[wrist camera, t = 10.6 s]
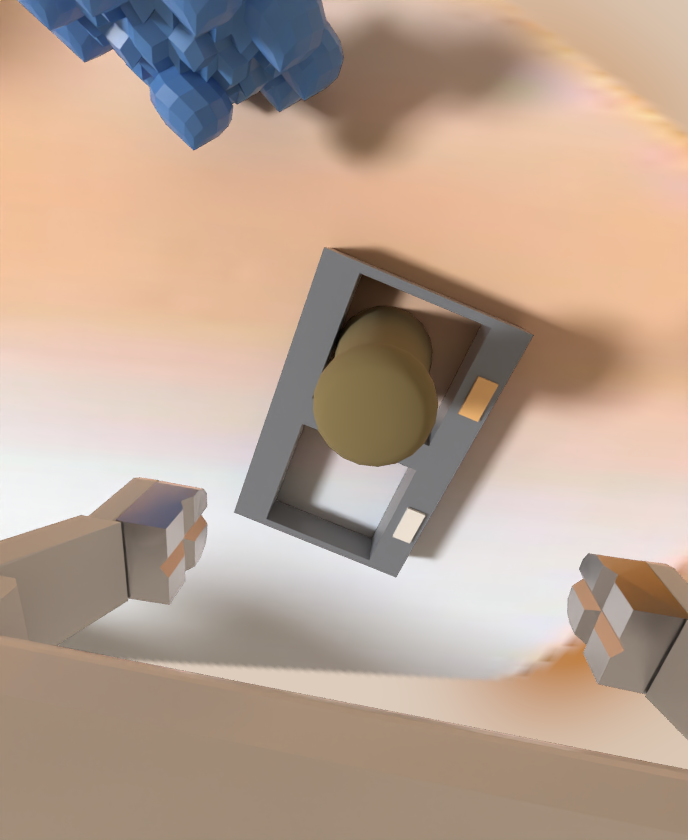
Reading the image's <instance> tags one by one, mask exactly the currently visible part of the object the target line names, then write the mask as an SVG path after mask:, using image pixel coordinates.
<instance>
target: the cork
mask: <svg viewBox="0 0 688 840" xmlns="http://www.w3.org/2000/svg"><path fill="white" fill-rule="evenodd" d="M432 353H433V352H432V347H431V342H430V337H429V335H428V333H427V332H426V330H425V328H424V326H423V325H422V323H421V322H419V321H418V320H417V319H416V318H415V317H414V316H413V315H412V314H410V313H408V312H406V311H404V310H401V309H399V308H396V307H387V306H377V307H373V308H369V309H365V310H363V311H361V312H360V313H358V314H357V315H355V316H354V317H352V318H351V319H350V320H349V321H348V322H347V324H346V325H345V326H344V327H343V328H342V330H341V332H340V334H339V337H338V340H337V342H336V347H335V358H334V359H333V360H332V361H331V362H330V364H329V365H328V366H327V367H326V368H325V369H324V371H323V372H322V373H321V375H320V377H319V380H318V382H317V385H316V388H315V390H314V398H313V414H314V418H315V421H316V424H317V428H318V431H319V433H320V434H321V436H322V437H323V439H324V440H325V442H326V443H327V445H328V446H329V447H330V448H331V449H333V450H334V451H335V452H336V453H338V454H339V455H340V456H341V457H343V458H345V459H347V460H350V461H352V462H354V463H357V464H359V465H367V466H376V467H379V466H384V465H390V464H396V463H398V462H400V461H402V460H404V459H406V458H408V457H410V456H412V455H413V454H414V453H415V452H416V451H417V450H418V449H419V448H420V447H421V446H422V445H423V444H424V443H425V442H426V440H427V438H428V436H429V434H430V432H431V431H432V429H433V427H434V425H435V423H436V416H437V410H438V400H437V395H436V390H435V385H434V382H433V380H432V378H431V376H430V375H429V371H430V367H431V360H432Z"/></svg>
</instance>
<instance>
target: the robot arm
mask: <svg viewBox="0 0 688 840" xmlns="http://www.w3.org/2000/svg"><path fill="white" fill-rule="evenodd" d="M206 507H207V493H206V492H205V490H204V489H202V488H196V487H191V486H186V485H180V484H175V483H170V482H164V481H159V480H154V479H147V478H141V477H139V478H133V479H132V480H131V481H130V482H129V483H127V484H126V485H125V486H124V487H123V488H121V489H120V490H119V491H118V492H117V493H115V494H114V495H113V496H112V497H111V498H109V499H108V500H107V501H106V502H105V503H103V504H102V505H101V506H100V507H99V508H98V509H96V510H95V511H94V512H93V513H92V514H90V515H89V516H83V515H80V516H77V517H73V518H70V519H67V520H64V521H61V522H58V523H55V524H51V525H48V526H45V527H42V528H39V529H36V530H33V531H29V532H26V533H23V534H20V535H17V536H14V537H11V538H7V539H4V540H1V541H0V840H688V769H682V768H678V767H672V766H667V765H662V764H657V763H652V762H647V761H642V760H637V759H631V758H626V757H621V756H616V755H611V754H606V753H601V752H596V751H591V750H586V749H581V748H576V747H571V746H566V745H561V744H556V743H551V742H546V741H540V740H535V739H530V738H525V737H520V736H515V735H510V734H504V733H500V732H495V731H490V730H485V729H480V728H475V727H470V726H465V725H459V724H454V723H449V722H444V721H439V720H433V719H429V718H423V717H418V716H413V715H408V714H403V713H398V712H393V711H388V710H382V709H377V708H372V707H367V706H362V705H357V704H351V703H346V702H341V701H336V700H331V699H326V698H321V697H315V696H310V695H305V694H300V693H295V692H290V691H284V690H279V689H275V688H269V687H264V686H259V685H254V684H249V683H243V682H238V681H234V680H228V679H223V678H218V677H213V676H208V675H203V674H198V673H193V672H187V671H182V670H177V669H172V668H167V667H162V666H157V665H152V664H147V663H141V662H136V661H131V660H126V659H121V658H116V657H111V656H106V655H101V654H95V653H90V652H85V651H80V650H75V649H70V648H65V647H60V646H56V645H58V644H60V643H61V642H63V641H64V640H66V639H68V638H69V637H71V636H72V635H74V634H75V633H77V632H79V631H80V630H82V629H83V628H85V627H87V626H88V625H90V624H91V623H93V622H95V621H96V620H98V619H99V618H101V617H103V616H104V615H106V614H107V613H109V612H111V611H112V610H114V609H115V608H117V607H119V606H120V605H122V604H123V603H125V602H127V601H128V598H130V599H136V600H143V601H149V602H155V603H162V604H168V605H170V603H171V602H172V600H173V599H174V597H175V596H176V594H177V593H178V591H179V590H180V588H181V587H182V585H183V584H184V582H185V571H186V570H188V569H190V568H192V567H194V566H195V565H196V564H197V562H198V560H199V559H200V557H201V555H202V552H203V549H204V547H205V544H206V538H207V522H206V521H205V520H204V518H203V517H202V515H201V514H202V513H203V511H204V510H205V509H206ZM579 570H580V572H581V575H582V577H583V579H582V580H581V581H579V582H577V583H576V584H574V585H573V586H572V588H571V591H570V594H569V597H568V606H567V613H568V618H569V623H570V625H571V627H572V630H573V632H574V634H575V635H576V636H577V637H579V638H580V639H581V640H582V641H583V642H584V643H585V644H586V648H585V650H584V652H583V653H584V656H585V658H586V660H587V662H588V664H589V666H590V668H591V671H592V673H593V675H594V677H595V679H596V681H597V683H598V684H600V685H605V686H609V687H614V688H618V689H624V690H628V691H633V692H637V693H642V694H646V696H645V697H646V698H647V699H648V700H649V701H650V702H651V703H652V704H653V705H654V706H655V707H656V708H657V709H658V710H659V711H660V712H661V713H662V714H663V715H664V716H665V717H666V718H667V719H668V720H669V721H670V722H671V723H672V724H673V725H674V726H675V727H676V728H677V729H678V730H679V731H680V732H681V733H682V734H683V736H684V737H685V738H687V740H688V583H687V582H686V581H685V580H684V579H683V577H682V576H681V575H680V574H679V573H678V572H677V571H676V570H675V568H673V567H671V566H669V565H667V564H663V563H655V562H647V561H637V560H630V559H624V558H617V557H610V556H603V555H596V554H590V553H588V554H587V556H586V557H585V558H584V559H583V561H582V563H581V565H580V568H579Z"/></svg>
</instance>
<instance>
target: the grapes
mask: <svg viewBox="0 0 688 840" xmlns="http://www.w3.org/2000/svg"><path fill="white" fill-rule="evenodd" d="M17 1H19V2H20V3H21V4H22V5H23V6H24V7H25V8H26V9H27V10H28V11H29V12H30V13H32V14H33V15H34V16H35V17H36V18H37V19H38V20H39V21H40V22H41V23H42V24H43V25H45V26H46V27H47V28H48V29H49V30H50V31H51V32H52V33H53V34H54V35H56V36H57V37H58V38H59V39H60V40H61V41H62V42H63V43H64V44H65V45H66V46H67V47H69V48H70V49H71V50H72V51H73V52H74V53H75V54H76V55H77V56H78V57H79V58H80V59H82V60H83V61H84V62H87V61H89V60H92V59H94V58H97V57H99V56H101V55H103V54H105V53H106V52H108V51H110V50H112V49H114V50H115V51H116V53H117V54H118V55H119V56H120V57H121V58H122V59H123V60H124V61H125V63H126V65H127V66H128V67H129V68H130V69H131V70H132V71H133V72H134V73H135V74H136V75H137V76H138V77H139V78H140V79H141V80H142V81H144V82H145V83H146V84H147V85H148V86H149V87H150V97H151V102H152V103H153V105H154V107H155V109H156V110H157V112H158V113H159V115H160V116H161V118H162V119H163V121H164V122H165V123H166V125H167V126H168V127H169V128H170V129H171V130H172V131H174V132H175V133H176V134H177V135H178V136H179V137H180V138H181V139H182V140H183V141H184V142H185V143H186V144H187V145H188V146H189V147H191V148H192V149H193V150H195V149H197V148H199V147H201V146H203V145H204V144H206V143H208V142H210V141H211V140H213V139H215V138H216V137H218V136H219V135H220V134H221V133H222V132H223V131H224V130H225V129H226V128H227V127H228V126H229V124H230V122H231V120H232V112H233V105H232V104H233V103H236V104H239V103H241V102H242V101H244V100H246V99H248V98H249V97H251V96H252V95H254V94H256V93H258V92H259V91H260V92H261V93H262V94H263V95H264V97H265V98H266V99H267V100H268V101H269V102H270V103H271V104H272V105H273V106H274V107H275V108H276V109H277V110H278V111H279V112H280V111H282V110H284V109H286V108H287V107H289V106H291V105H293V104H294V103H296V102H298V101H299V100H300V99H301V98H302V99H303V100H304V101H305V100H307V99H308V98H310V97H312V96H314V95H315V94H317V93H319V92H320V91H322V90H324V89H325V88H327V87H328V86H329V85H330V84H331V83H332V82H333V81H334V80H335V79H336V78H337V77H338V75H339V72H340V69H341V66H342V63H343V59H344V56H343V51H342V47H341V43H340V40H339V38H338V37H337V35H336V33H335V32H334V30H333V29H332V27H331V26H330V24H329V23H328V22H327V20H326V17H325V13H324V9H323V5H322V0H17Z"/></svg>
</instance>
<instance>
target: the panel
mask: <svg viewBox="0 0 688 840" xmlns="http://www.w3.org/2000/svg"><path fill="white" fill-rule="evenodd" d="M362 274H363V275H366V276H368V277H370V278H373V279H375V280H377V281H380V282H382V283H385V284H387V285H389V286H392V287H394V288H397V289H399V290H401V291H404V292H406V293H408V294H411V295H413V296H416V297H418V298H420V299H423V300H425V301H428V302H430V303H432V304H435V305H437V306H439V307H442V308H444V309H447V310H449V311H451V312H454V313H456V314H459V315H461V316H463V317H466V318H468V319H470V320H473V321H475V322H478V323H480V324H482V325H481V327H480V328H479V330H478V332H477V334H476V336H475V338H474V340H473V342H472V344H471V346H470V348H469V350H468V352H467V354H466V356H465V358H464V360H463V362H462V364H461V366H460V367H459V369H458V371H457V373H456V375H455V377H454V379H453V381H452V383H451V385H450V387H449V389H448V391H447V393H446V395H445V397H444V399H443V401H442V403H441V405H440V406H439V408H438V410H437V416H436V423H435V425H434V427H433V429H432V431H431V432H430V434H429V436H428V438H427V440H426V442H425V443H424V444H423V445H422V446H421V447H420V448H419V449H418V450H417V451H416V452H415V453H414V454H413V455H412V456H410V457H408V458H406V459H404V460H402V461H400V462H398V463H400V464H402V465H404V466H407V467H408V469H407V471H406V473H405V475H404V477H403V479H402V481H401V482H400V484H399V486H398V488H397V490H396V492H395V494H394V496H393V498H392V500H391V502H390V504H389V506H388V508H387V510H386V512H385V514H384V516H383V518H382V519H381V521H380V523H379V525H378V527H377V529H376V531H375V533H374V535H373V537H372V539H371V538H369V537H366V536H364V535H361V534H359V533H356V532H354V531H351V530H349V529H346V528H344V527H341V526H339V525H336V524H334V523H331V522H329V521H327V520H324V519H322V518H319V517H317V516H314V515H312V514H309V513H307V512H304V511H302V510H299V509H297V508H294V507H292V506H289V505H287V504H284V503H282V502H279V501H277V500H276V498H277V495H278V493H279V490H280V487H281V485H282V482H283V480H284V477H285V474H286V472H287V469H288V466H289V464H290V461H291V459H292V456H293V453H294V451H295V448H296V446H297V443H298V440H299V438H300V435H301V432H302V430H303V427H304V425H306V426H309V427H311V428H314V429H316V430H318V428H317V424H316V421H315V418H314V414H313V398H314V390H315V388H316V385H317V382H318V380H319V377H320V375H321V373H322V372H323V371H324V369H325V368H326V367H327V364H328V362H329V359H330V357H331V354H332V351H333V349H334V346H335V344H336V341H337V338H338V336H339V333H340V330H341V328H342V325H343V323H344V320H345V317H346V315H347V312H348V310H349V307H350V304H351V302H352V299H353V296H354V294H355V291H356V289H357V286H358V283H359V281H360V278H361V276H362ZM533 336H534V335H532V334H531V333H529V332H528V331H526V330H524V329H523V328H521V327H518V326H516V325H514V324H511V323H509V322H506V321H504V320H502V319H499V318H497V317H495V316H492V315H490V314H487V313H485V312H483V311H480V310H478V309H476V308H473V307H471V306H468V305H466V304H464V303H461V302H459V301H456V300H454V299H452V298H449V297H447V296H445V295H442V294H440V293H437V292H435V291H433V290H430V289H428V288H425V287H423V286H421V285H418V284H416V283H414V282H411V281H409V280H406V279H404V278H402V277H399V276H397V275H395V274H392V273H390V272H387V271H385V270H383V269H380V268H378V267H375V266H373V265H371V264H368V263H366V262H364V261H361V260H359V259H356V258H354V257H352V256H349V255H347V254H345V253H342V252H340V251H337V250H335V249H333V248H326V247H324V249H323V252H322V255H321V258H320V261H319V264H318V267H317V270H316V273H315V276H314V279H313V282H312V285H311V288H310V291H309V294H308V297H307V299H306V302H305V305H304V308H303V311H302V314H301V317H300V320H299V323H298V326H297V329H296V332H295V335H294V338H293V341H292V344H291V346H290V349H289V352H288V355H287V358H286V361H285V364H284V367H283V370H282V373H281V376H280V379H279V382H278V385H277V388H276V391H275V394H274V396H273V399H272V402H271V405H270V408H269V411H268V414H267V417H266V420H265V423H264V426H263V429H262V432H261V435H260V438H259V441H258V443H257V446H256V449H255V452H254V455H253V458H252V461H251V464H250V467H249V470H248V473H247V476H246V479H245V482H244V485H243V488H242V491H241V493H240V496H239V499H238V502H237V505H236V508H235V511H234V513H237V514H239V515H242V516H244V517H247V518H249V519H252V520H254V521H257V522H259V523H262V524H264V525H267V526H269V527H272V528H274V529H277V530H279V531H282V532H284V533H287V534H289V535H292V536H294V537H297V538H299V539H302V540H304V541H307V542H309V543H312V544H314V545H317V546H319V547H322V548H324V549H327V550H329V551H332V552H334V553H337V554H339V555H342V556H344V557H347V558H349V559H352V560H354V561H357V562H359V563H362V564H364V565H367V566H369V567H372V568H374V569H377V570H379V571H382V572H384V573H386V574H389V575H391V576H394V577H397V575H398V573H399V571H400V570H401V568H402V566H403V564H404V563H405V561H406V559H407V557H408V556H409V554H410V552H411V550H412V549H413V547H414V545H415V543H416V542H417V540H418V538H419V536H420V535H421V533H422V531H423V529H424V527H425V526H426V524H427V522H428V520H429V519H430V517H431V515H432V513H433V512H434V510H435V508H436V506H437V505H438V503H439V501H440V499H441V498H442V496H443V494H444V492H445V490H446V489H447V487H448V485H449V483H450V482H451V480H452V478H453V476H454V475H455V473H456V471H457V469H458V468H459V466H460V464H461V462H462V461H463V459H464V457H465V455H466V454H467V452H468V450H469V448H470V446H471V445H472V443H473V441H474V439H475V438H476V436H477V434H478V432H479V431H480V429H481V427H482V425H483V424H484V422H485V420H486V418H487V417H488V415H489V413H490V411H491V410H492V408H493V406H494V404H495V402H496V401H497V399H498V397H499V395H500V394H501V392H502V390H503V388H504V387H505V385H506V383H507V381H508V380H509V378H510V376H511V374H512V373H513V371H514V369H515V367H516V365H517V364H518V362H519V360H520V358H521V357H522V355H523V353H524V351H525V350H526V348H527V346H528V344H529V343H530V341H531V339H532V337H533Z"/></svg>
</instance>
